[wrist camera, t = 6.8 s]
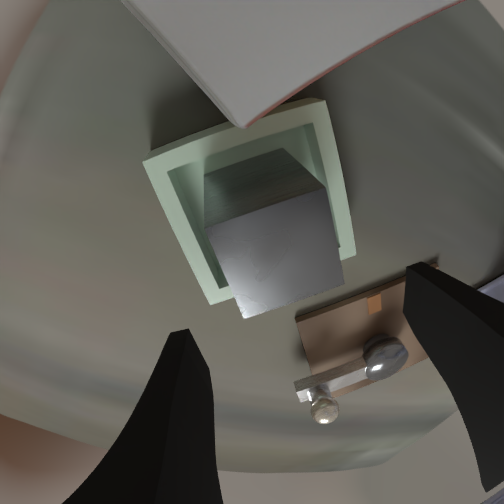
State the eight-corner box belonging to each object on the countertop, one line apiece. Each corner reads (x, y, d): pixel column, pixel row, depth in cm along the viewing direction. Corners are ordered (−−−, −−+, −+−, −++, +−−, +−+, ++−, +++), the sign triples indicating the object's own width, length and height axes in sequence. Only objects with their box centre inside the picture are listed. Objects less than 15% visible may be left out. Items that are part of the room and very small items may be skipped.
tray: (309, 97, 14) (325, 100, 12) (341, 235, 18) (356, 254, 17) (150, 150, 15) (142, 162, 13) (209, 281, 19) (210, 305, 17)
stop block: (282, 147, 15) (326, 187, 10) (302, 218, 17) (344, 283, 12) (203, 174, 15) (204, 228, 10) (230, 242, 17) (244, 318, 12)
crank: (402, 329, 21) (427, 367, 18) (401, 358, 23) (421, 393, 20) (290, 373, 22) (303, 418, 18) (299, 397, 24) (311, 438, 20)
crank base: (435, 262, 21) (444, 271, 20) (425, 353, 26) (431, 362, 25) (294, 318, 21) (299, 330, 20) (319, 398, 27) (322, 408, 26)
